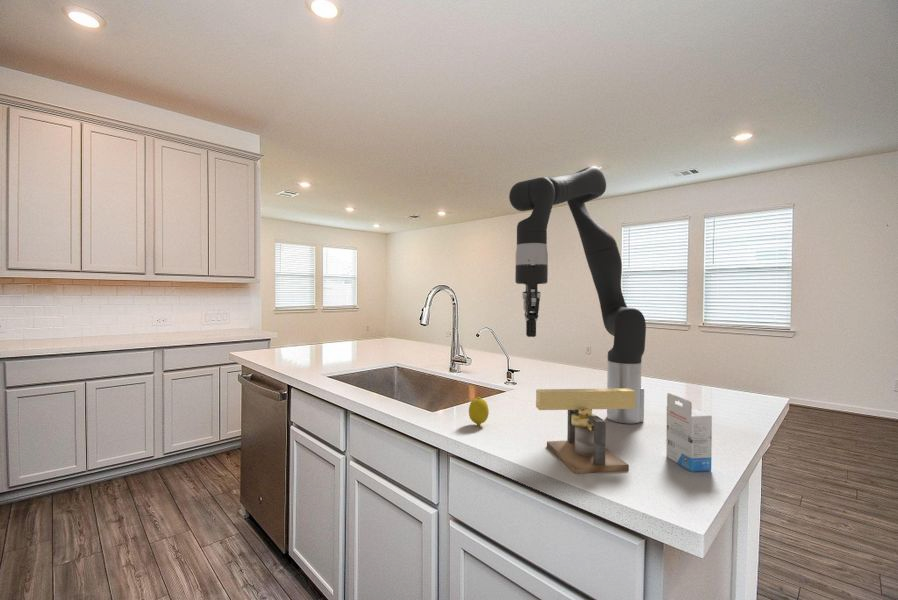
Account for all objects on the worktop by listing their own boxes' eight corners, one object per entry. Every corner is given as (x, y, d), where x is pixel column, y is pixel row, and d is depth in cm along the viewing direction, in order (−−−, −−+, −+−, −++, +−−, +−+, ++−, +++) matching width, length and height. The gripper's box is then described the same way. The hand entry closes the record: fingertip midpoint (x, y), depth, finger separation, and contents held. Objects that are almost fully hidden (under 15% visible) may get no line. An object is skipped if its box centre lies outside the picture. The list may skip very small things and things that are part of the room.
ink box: (712, 471, 85) (713, 401, 84) (690, 472, 84) (691, 401, 84) (685, 455, 93) (686, 391, 93) (665, 456, 93) (666, 391, 92)
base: (593, 444, 100) (593, 402, 100) (628, 470, 85) (629, 421, 85) (546, 446, 98) (547, 403, 98) (575, 473, 83) (575, 423, 83)
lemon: (487, 429, 110) (487, 400, 110) (467, 427, 111) (467, 399, 111) (489, 423, 115) (489, 395, 115) (470, 421, 117) (470, 394, 116)
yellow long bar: (531, 418, 95) (531, 385, 95) (621, 417, 97) (621, 384, 97) (544, 433, 86) (544, 396, 85) (644, 431, 87) (644, 395, 87)
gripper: (514, 265, 103) (513, 333, 103) (517, 261, 90) (516, 339, 90) (544, 265, 102) (543, 334, 103) (551, 261, 89) (550, 339, 89)
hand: (531, 336), depth 96 cm, fingers closed
